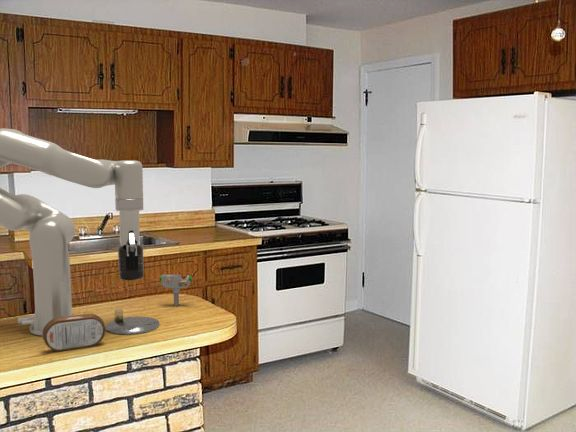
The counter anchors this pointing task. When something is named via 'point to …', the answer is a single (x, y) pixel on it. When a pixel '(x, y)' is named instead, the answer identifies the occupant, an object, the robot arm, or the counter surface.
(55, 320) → the tin
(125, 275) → the supplement bottle
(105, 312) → the counter surface
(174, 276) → the mechanical component
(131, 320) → the plate
